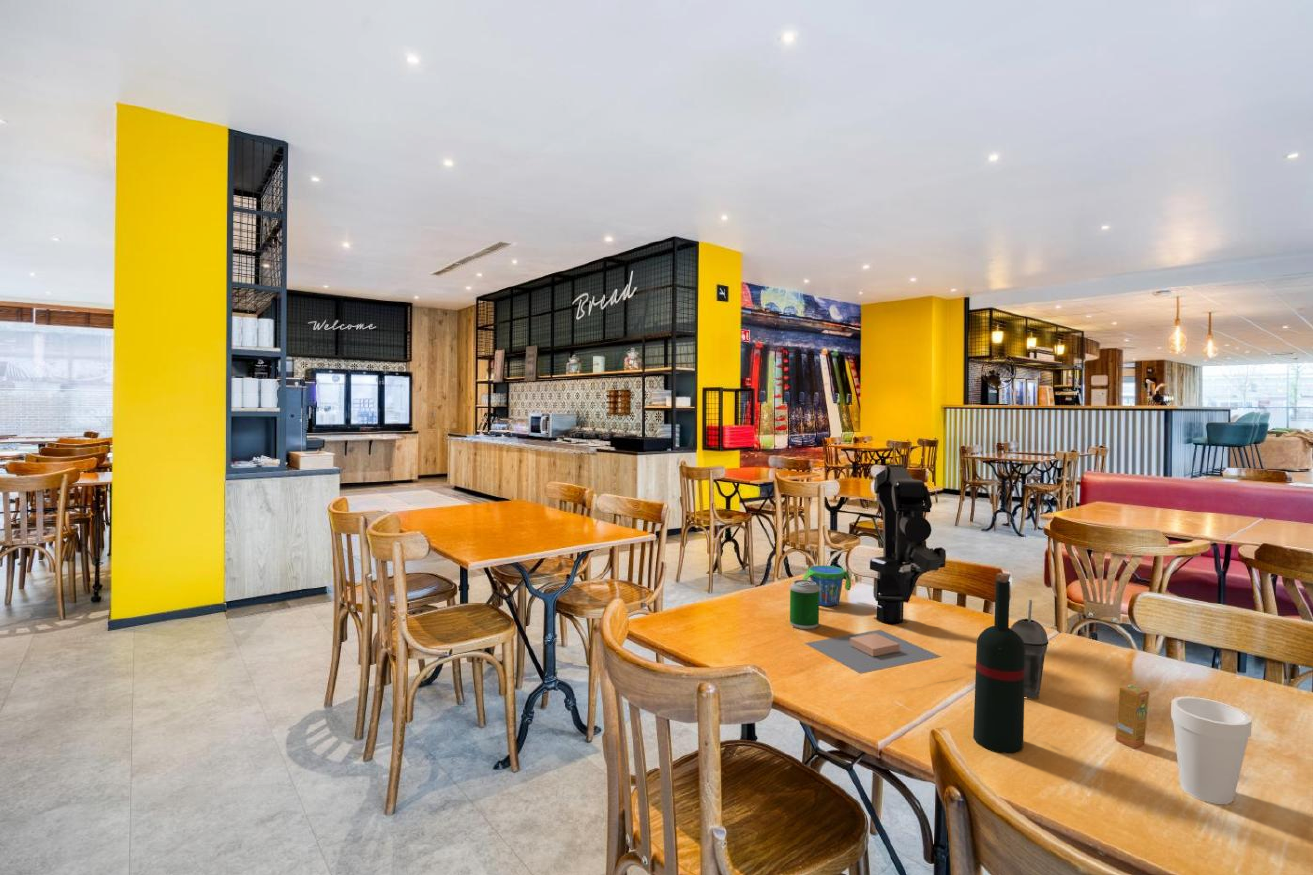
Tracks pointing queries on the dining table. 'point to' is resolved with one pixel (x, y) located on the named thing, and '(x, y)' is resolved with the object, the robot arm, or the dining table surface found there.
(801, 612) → the soda can
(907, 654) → the slate mat
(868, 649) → the terracotta tile
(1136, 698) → the supplement box
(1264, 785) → the dining table surface
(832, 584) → the snack cup
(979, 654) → the wine bottle
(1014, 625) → the beverage cup
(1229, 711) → the foam cup
